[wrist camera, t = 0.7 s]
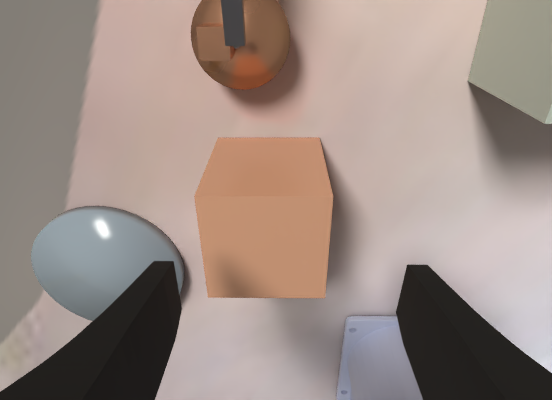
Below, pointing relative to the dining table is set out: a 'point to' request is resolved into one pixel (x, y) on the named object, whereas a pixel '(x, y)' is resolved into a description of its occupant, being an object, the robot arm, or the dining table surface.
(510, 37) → the sage green cube
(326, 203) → the peach matte cube
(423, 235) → the dining table surface
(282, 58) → the balance
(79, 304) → the saucer
